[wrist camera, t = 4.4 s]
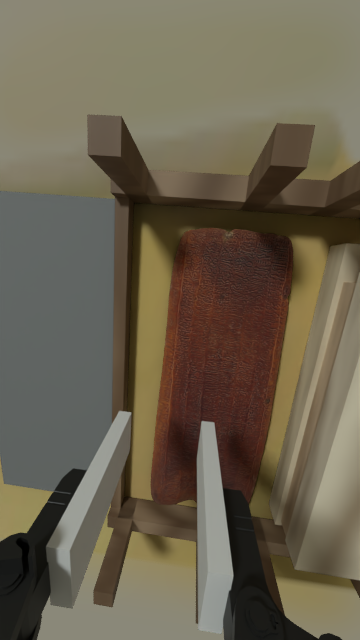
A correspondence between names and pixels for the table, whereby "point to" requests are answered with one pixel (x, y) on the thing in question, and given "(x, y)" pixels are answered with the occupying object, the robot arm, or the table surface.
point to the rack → (128, 188)
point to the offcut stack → (325, 432)
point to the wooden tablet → (220, 356)
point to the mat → (54, 334)
